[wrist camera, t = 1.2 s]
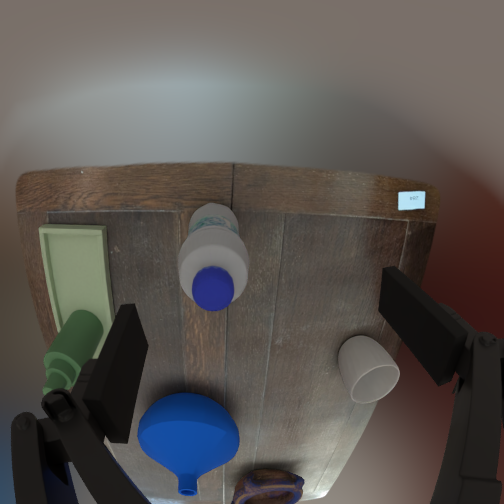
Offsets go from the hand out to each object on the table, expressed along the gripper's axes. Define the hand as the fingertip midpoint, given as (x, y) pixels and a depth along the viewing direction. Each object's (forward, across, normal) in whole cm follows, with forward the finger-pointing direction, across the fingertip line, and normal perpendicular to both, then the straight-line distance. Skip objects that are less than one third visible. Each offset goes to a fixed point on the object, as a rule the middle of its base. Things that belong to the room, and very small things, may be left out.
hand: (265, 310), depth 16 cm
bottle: (+28, -3, -3) cm, 28 cm away
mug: (+28, +18, -31) cm, 46 cm away
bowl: (+28, -1, -72) cm, 77 cm away
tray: (+27, -26, -17) cm, 42 cm away
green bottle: (+27, -26, -17) cm, 41 cm away
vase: (+28, -14, -39) cm, 50 cm away
